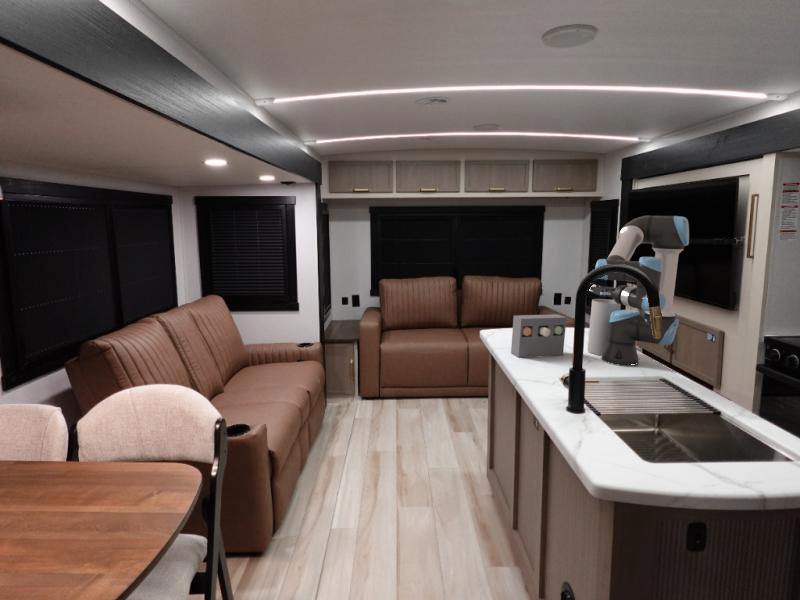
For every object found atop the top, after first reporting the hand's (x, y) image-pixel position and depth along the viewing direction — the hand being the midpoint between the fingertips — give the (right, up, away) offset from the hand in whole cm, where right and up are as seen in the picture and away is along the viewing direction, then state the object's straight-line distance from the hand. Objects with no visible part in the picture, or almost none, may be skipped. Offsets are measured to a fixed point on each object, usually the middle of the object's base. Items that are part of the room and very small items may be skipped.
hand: (588, 287), depth 210 cm
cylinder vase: (+15, -31, +25) cm, 43 cm away
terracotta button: (-24, -21, +13) cm, 35 cm away
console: (-17, -31, +19) cm, 40 cm away
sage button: (-9, -21, +17) cm, 29 cm away
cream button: (-16, -22, +13) cm, 29 cm away
